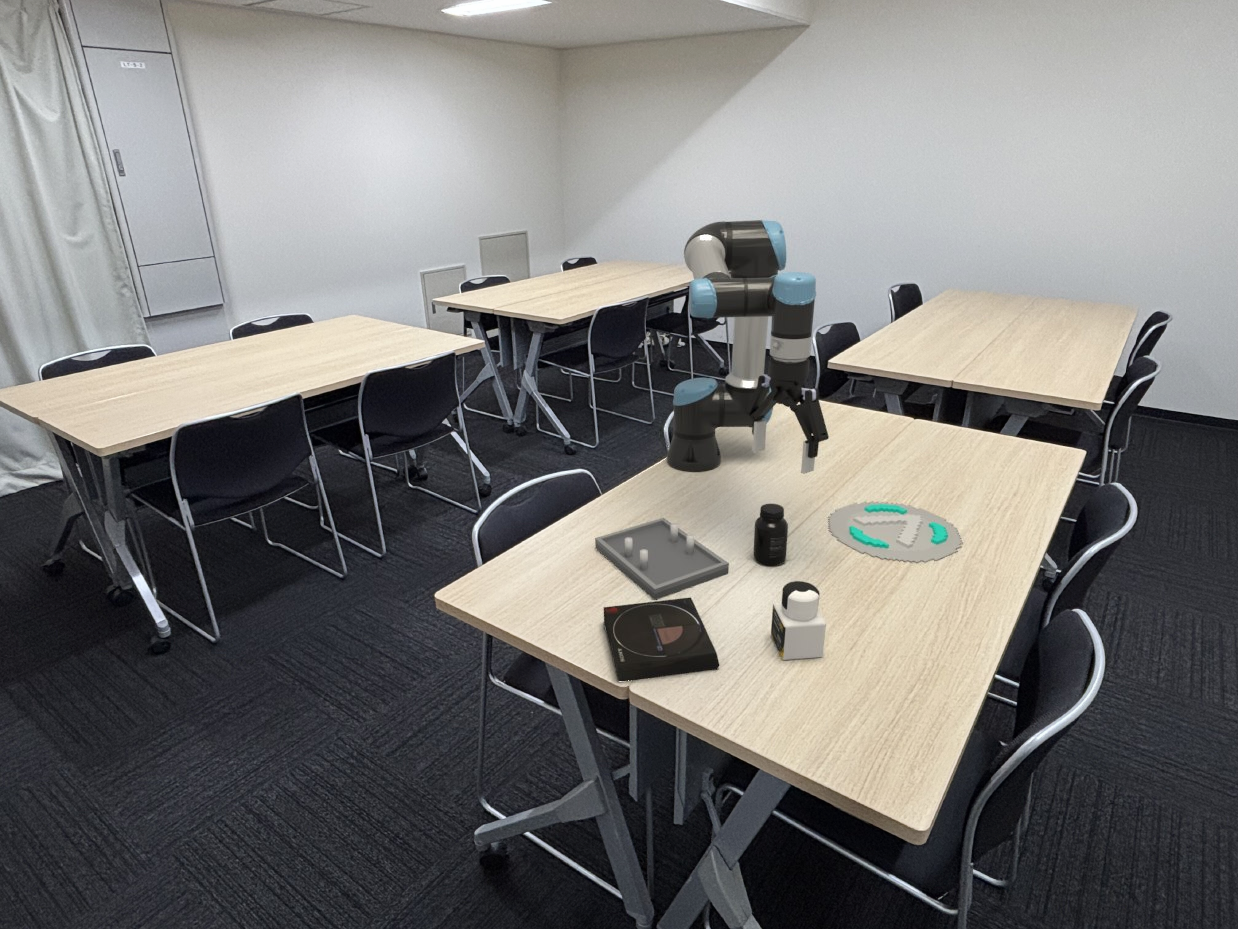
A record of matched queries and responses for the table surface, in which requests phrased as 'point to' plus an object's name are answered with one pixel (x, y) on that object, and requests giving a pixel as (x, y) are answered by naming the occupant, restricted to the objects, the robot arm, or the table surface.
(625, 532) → the pin tray
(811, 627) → the medicine bottle
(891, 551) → the grey symbol plate
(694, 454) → the robot arm
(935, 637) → the table surface
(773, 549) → the supplement bottle
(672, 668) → the portable cd player
